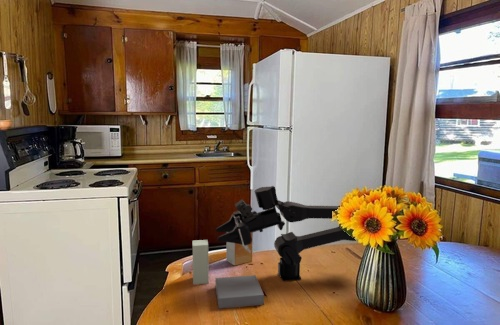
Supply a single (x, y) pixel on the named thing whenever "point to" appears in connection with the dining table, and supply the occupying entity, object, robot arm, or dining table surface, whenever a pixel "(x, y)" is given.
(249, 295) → the plinth
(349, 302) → the dining table surface
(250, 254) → the small box
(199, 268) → the sage block
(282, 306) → the dining table surface
